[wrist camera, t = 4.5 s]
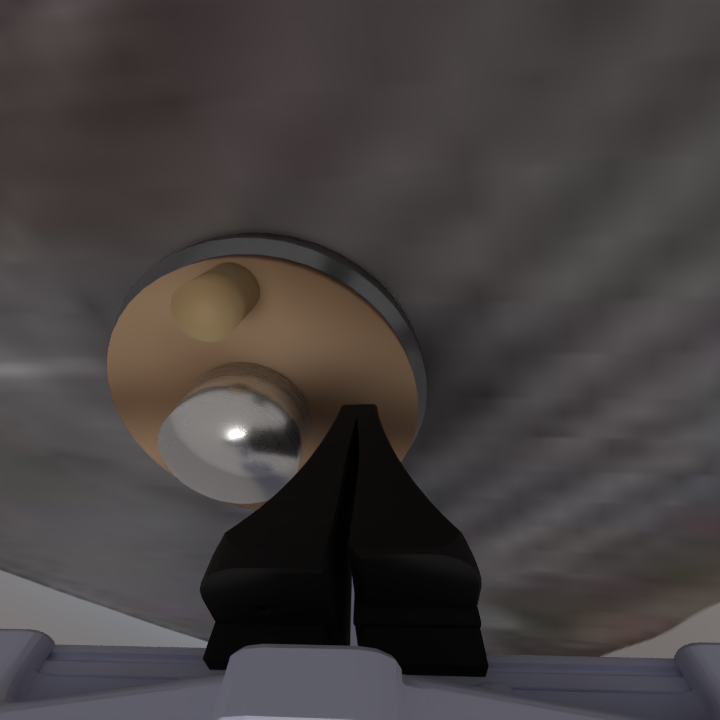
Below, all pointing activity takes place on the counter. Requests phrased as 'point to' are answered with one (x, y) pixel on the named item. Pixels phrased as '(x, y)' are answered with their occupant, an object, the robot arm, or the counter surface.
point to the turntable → (259, 345)
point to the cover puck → (237, 433)
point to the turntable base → (311, 257)
